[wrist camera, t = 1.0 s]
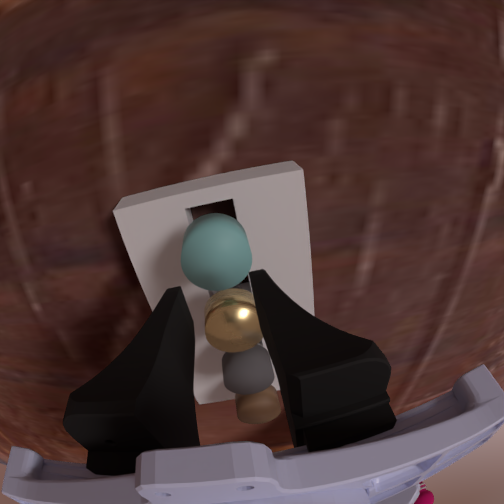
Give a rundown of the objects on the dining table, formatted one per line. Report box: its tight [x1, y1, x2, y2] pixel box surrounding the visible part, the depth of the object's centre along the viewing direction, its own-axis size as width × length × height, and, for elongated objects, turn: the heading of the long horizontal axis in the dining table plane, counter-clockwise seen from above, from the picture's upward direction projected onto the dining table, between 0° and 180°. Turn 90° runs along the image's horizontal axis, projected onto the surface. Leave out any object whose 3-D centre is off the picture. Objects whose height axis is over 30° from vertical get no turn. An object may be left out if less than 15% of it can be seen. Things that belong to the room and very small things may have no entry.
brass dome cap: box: [204, 283, 263, 352], centre depth 20 cm, size 4×4×4 cm
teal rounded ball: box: [181, 213, 252, 291], centre depth 17 cm, size 4×4×4 cm
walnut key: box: [235, 385, 281, 424], centre depth 25 cm, size 4×4×4 cm
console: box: [113, 161, 314, 404], centre depth 24 cm, size 21×12×2 cm, turn 9°
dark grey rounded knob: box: [222, 344, 275, 395], centre depth 22 cm, size 4×4×4 cm
